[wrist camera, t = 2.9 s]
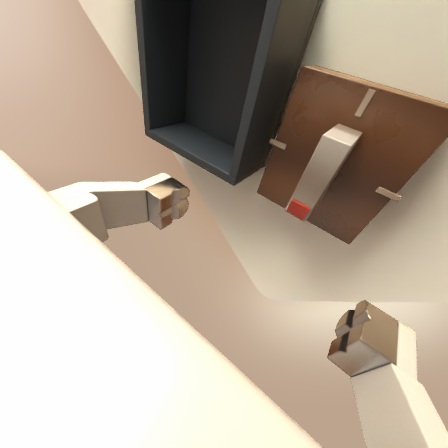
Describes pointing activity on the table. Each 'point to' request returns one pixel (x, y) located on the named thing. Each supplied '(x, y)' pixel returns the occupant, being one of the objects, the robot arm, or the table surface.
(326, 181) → the tap knob
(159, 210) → the robot arm
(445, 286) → the table surface
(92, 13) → the table surface
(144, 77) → the dark grey open box
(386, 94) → the tap panel
